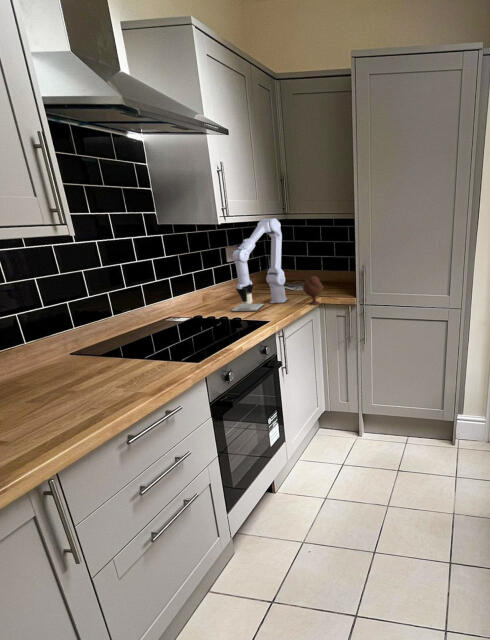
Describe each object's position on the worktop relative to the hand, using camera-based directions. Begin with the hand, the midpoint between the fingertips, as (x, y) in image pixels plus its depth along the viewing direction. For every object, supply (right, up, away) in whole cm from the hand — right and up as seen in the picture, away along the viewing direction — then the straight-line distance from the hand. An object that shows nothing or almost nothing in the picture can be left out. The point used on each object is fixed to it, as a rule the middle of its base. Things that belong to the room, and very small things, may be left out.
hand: (246, 300), depth 229 cm
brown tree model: (+34, 0, +9) cm, 36 cm away
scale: (0, -4, +2) cm, 4 cm away
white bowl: (0, -1, +1) cm, 1 cm away
